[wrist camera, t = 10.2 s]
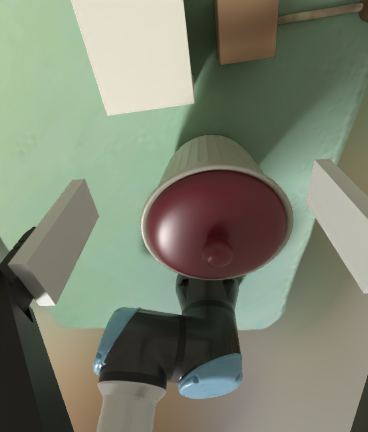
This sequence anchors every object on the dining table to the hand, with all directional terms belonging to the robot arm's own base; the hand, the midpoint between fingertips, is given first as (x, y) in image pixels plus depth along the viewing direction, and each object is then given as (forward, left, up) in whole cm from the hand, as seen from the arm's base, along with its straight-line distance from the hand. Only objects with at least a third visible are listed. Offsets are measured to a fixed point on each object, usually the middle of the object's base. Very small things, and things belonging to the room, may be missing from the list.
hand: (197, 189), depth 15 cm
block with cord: (+6, -13, -27) cm, 30 cm away
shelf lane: (+6, +5, -27) cm, 28 cm away
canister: (-13, -1, -27) cm, 30 cm away
